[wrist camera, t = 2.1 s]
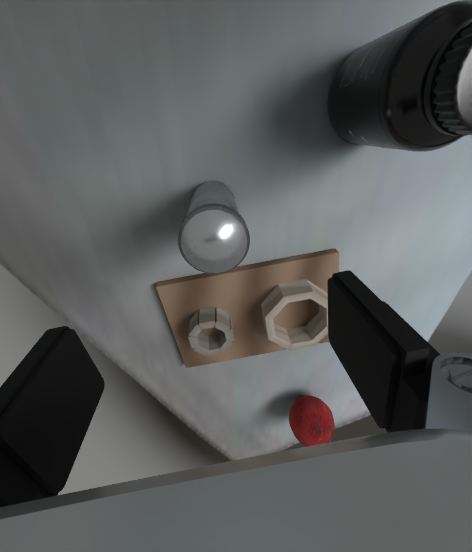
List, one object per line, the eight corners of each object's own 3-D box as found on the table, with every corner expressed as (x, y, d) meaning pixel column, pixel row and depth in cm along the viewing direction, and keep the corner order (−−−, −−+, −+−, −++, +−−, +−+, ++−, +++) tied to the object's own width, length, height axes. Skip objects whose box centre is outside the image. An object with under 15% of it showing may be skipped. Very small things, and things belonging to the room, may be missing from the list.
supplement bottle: (334, 157, 24) (429, 181, 14) (316, 68, 21) (421, 10, 10) (411, 124, 23) (575, 122, 13) (405, 26, 20) (617, -84, 10)
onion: (285, 384, 38) (302, 441, 31) (325, 381, 39) (350, 438, 32) (282, 410, 41) (296, 469, 34) (319, 407, 41) (341, 465, 34)
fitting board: (335, 248, 28) (349, 263, 25) (334, 334, 34) (346, 354, 31) (157, 282, 29) (151, 300, 26) (186, 361, 35) (184, 384, 31)
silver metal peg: (232, 174, 24) (244, 201, 15) (240, 221, 26) (254, 268, 18) (183, 183, 24) (168, 215, 15) (195, 229, 26) (188, 281, 18)
